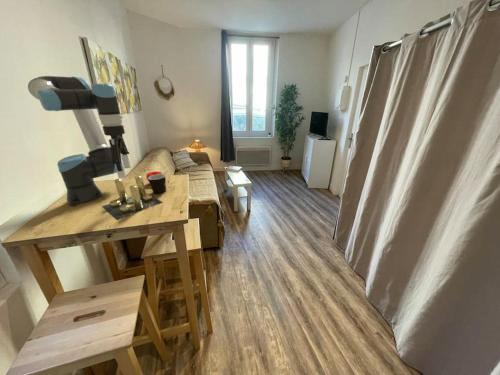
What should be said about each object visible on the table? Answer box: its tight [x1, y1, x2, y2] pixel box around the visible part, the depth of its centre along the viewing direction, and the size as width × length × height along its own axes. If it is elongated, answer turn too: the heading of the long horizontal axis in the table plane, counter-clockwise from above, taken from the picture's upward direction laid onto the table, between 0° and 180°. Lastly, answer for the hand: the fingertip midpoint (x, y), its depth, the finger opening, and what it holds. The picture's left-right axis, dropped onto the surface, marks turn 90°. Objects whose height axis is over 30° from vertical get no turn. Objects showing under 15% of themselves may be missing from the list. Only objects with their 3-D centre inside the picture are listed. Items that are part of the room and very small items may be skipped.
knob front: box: [120, 184, 143, 212], centre depth 96 cm, size 9×4×11 cm, turn 110°
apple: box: [145, 171, 163, 184], centre depth 128 cm, size 9×9×8 cm
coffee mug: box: [148, 173, 167, 195], centre depth 116 cm, size 12×9×10 cm
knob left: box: [134, 175, 154, 201], centre depth 107 cm, size 9×4×11 cm, turn 50°
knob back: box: [109, 178, 129, 207], centre depth 102 cm, size 9×4×11 cm, turn 170°
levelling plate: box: [101, 196, 163, 221], centre depth 103 cm, size 20×21×3 cm
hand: (125, 172), depth 96 cm, fingers open, 13 cm apart
